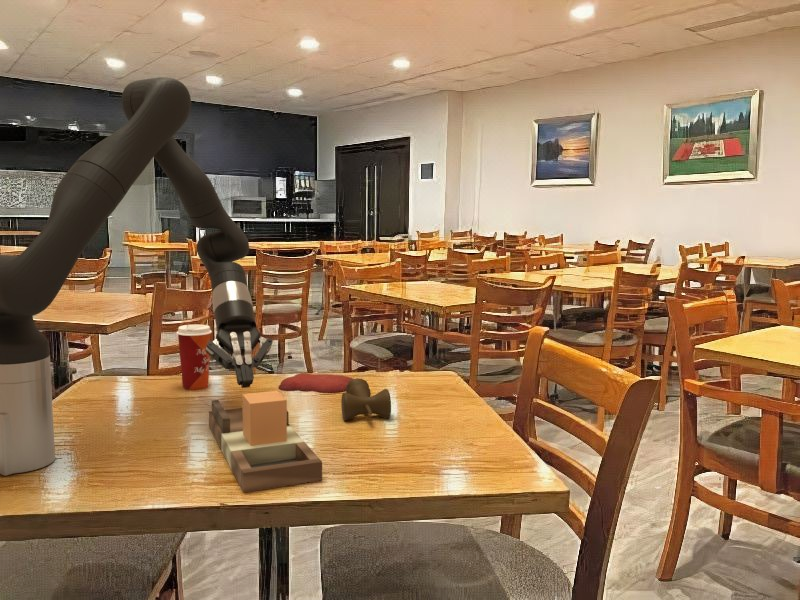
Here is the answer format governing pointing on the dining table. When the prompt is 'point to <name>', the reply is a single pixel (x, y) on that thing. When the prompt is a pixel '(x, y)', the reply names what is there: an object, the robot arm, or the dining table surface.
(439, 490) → the dining table surface
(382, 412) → the kendama
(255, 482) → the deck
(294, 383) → the patty
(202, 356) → the paper cup
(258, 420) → the block
